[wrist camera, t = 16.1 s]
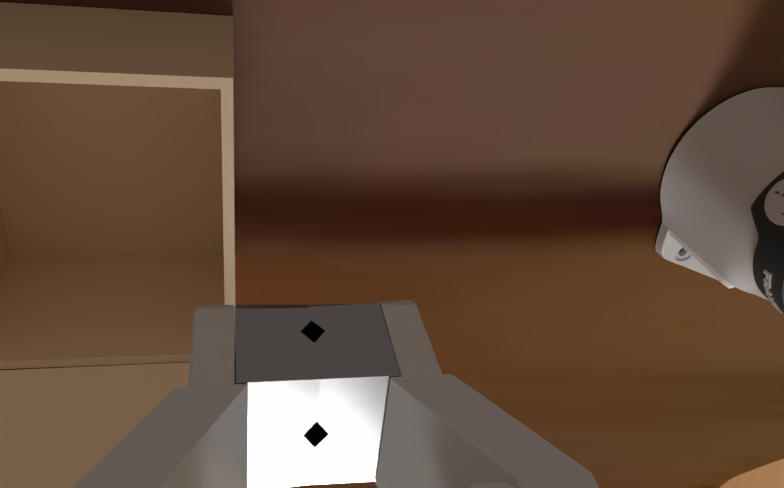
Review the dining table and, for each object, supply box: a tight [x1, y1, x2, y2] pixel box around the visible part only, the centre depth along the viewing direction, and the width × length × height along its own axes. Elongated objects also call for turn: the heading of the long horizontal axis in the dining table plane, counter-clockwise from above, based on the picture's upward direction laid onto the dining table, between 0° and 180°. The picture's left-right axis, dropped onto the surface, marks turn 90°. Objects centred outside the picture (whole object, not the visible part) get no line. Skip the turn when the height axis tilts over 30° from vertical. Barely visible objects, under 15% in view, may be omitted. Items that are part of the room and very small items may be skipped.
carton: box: [0, 2, 235, 369], centre depth 43 cm, size 18×16×12 cm
